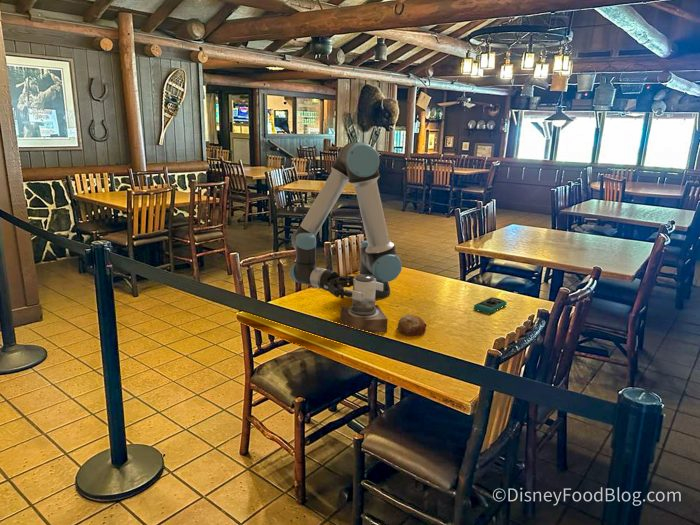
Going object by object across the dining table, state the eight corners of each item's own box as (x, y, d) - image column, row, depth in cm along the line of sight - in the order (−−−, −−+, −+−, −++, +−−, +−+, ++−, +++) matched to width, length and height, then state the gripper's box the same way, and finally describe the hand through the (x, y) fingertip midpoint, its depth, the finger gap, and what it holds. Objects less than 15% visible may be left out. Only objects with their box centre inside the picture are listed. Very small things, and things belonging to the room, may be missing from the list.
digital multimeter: (506, 307, 206) (507, 300, 205) (489, 315, 195) (490, 308, 194) (490, 302, 210) (491, 295, 210) (472, 310, 200) (473, 303, 199)
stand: (377, 317, 188) (377, 304, 187) (386, 332, 175) (387, 317, 173) (340, 319, 185) (340, 305, 184) (347, 334, 172) (348, 319, 171)
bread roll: (399, 335, 182) (390, 316, 180) (424, 323, 182) (417, 305, 180) (404, 346, 173) (395, 327, 170) (431, 334, 172) (423, 315, 170)
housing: (372, 306, 184) (374, 272, 180) (379, 315, 175) (380, 280, 172) (348, 307, 182) (349, 273, 179) (353, 316, 173) (354, 280, 170)
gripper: (345, 281, 197) (390, 293, 185) (302, 297, 178) (350, 311, 166) (345, 263, 195) (391, 274, 183) (302, 276, 176) (351, 290, 164)
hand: (372, 291), depth 175 cm, fingers open, 13 cm apart
